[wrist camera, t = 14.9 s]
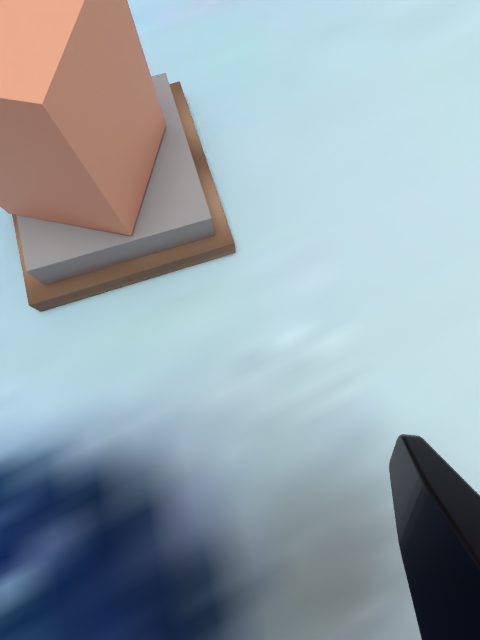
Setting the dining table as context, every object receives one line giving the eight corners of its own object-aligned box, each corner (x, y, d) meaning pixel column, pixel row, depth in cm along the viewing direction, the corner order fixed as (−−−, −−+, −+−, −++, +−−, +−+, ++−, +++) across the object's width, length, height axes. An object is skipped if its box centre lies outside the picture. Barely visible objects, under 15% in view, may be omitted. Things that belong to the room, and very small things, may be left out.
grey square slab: (215, 235, 24) (211, 218, 22) (45, 284, 23) (26, 271, 21) (172, 99, 26) (165, 72, 24) (18, 141, 26) (-1, 118, 24)
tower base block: (235, 257, 26) (234, 243, 24) (46, 314, 25) (28, 305, 23) (184, 105, 29) (179, 81, 27) (14, 153, 28) (-3, 132, 26)
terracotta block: (131, 235, 22) (42, 104, 13) (8, 213, 22) (-154, 74, 14) (166, 124, 23) (108, -59, 15) (51, 106, 24) (-69, -77, 15)
